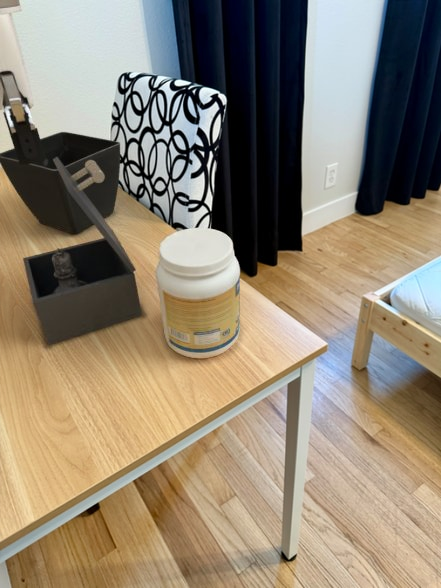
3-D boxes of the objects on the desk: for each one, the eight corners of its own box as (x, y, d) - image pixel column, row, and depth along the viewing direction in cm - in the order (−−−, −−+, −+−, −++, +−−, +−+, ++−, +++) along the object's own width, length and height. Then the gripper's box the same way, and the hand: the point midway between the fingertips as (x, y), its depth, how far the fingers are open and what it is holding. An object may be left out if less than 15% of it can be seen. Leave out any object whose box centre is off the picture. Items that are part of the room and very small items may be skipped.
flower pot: (78, 194, 113) (61, 129, 103) (133, 210, 105) (122, 141, 95) (18, 225, 100) (-7, 154, 90) (76, 246, 92) (56, 170, 82)
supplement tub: (254, 343, 68) (257, 253, 57) (185, 373, 63) (174, 281, 53) (216, 301, 76) (213, 216, 66) (153, 325, 72) (138, 238, 61)
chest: (48, 345, 69) (32, 302, 63) (37, 298, 78) (22, 258, 73) (142, 315, 74) (134, 273, 68) (120, 274, 84) (112, 235, 78)
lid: (68, 192, 57) (101, 170, 57) (52, 159, 66) (81, 141, 67) (132, 273, 68) (159, 254, 68) (110, 234, 78) (134, 218, 78)
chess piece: (51, 311, 74) (30, 253, 67) (75, 292, 78) (57, 235, 71) (76, 321, 72) (58, 262, 64) (100, 301, 76) (85, 243, 68)
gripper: (-55, -5, 52) (-6, 137, 63) (-58, 4, 40) (3, 178, 51) (10, -8, 55) (47, 128, 65) (26, -1, 43) (68, 166, 53)
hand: (28, 150), depth 58 cm, fingers open, 9 cm apart
